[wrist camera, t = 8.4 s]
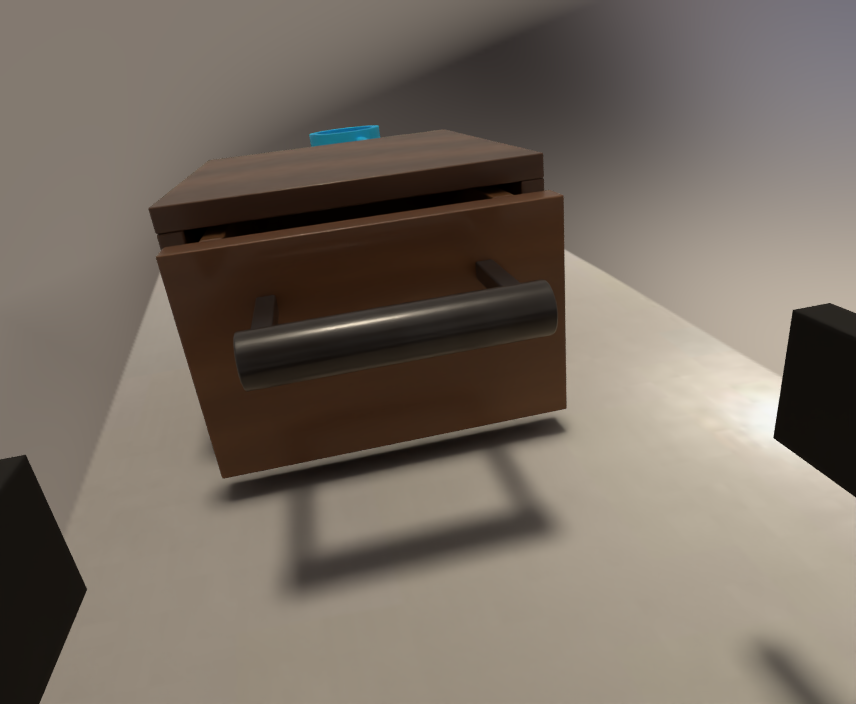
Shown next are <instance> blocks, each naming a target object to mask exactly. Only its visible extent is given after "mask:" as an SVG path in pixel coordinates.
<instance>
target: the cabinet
mask: <svg viewBox="0 0 856 704" xmlns="http://www.w3.org/2000/svg"><path fill="white" fill-rule="evenodd" d="M543 176H544V171H543V153H540V152H536V151H532V150H528V149H524V148H519V147H515V146H511V145H507V144H503V143H499V142H495V141H490V140H486V139H482V138H478V137H473V136H469V135H465V134H461V133H457V132H453V131H448V130H436V131H428V132H421V133H413V134H405V135H398V136H390V137H383V138H375V139H367V140H360V141H352V142H344V143H337V144H329V145H321V146H314V147H306V148H298V149H291V150H283V151H275V152H268V153H261V154H252V155H245V156H238V157H231V158H222V159H214V160H209V161H207V162H206V163H205V164H204V165H202V166H201V167H200V168H199V169H197V170H196V171H195V172H193V173H192V174H191V175H190V176H188V177H187V178H186V179H185V180H183V181H182V182H181V183H180V184H178V185H177V186H176V187H175V188H173V189H172V190H171V191H170V192H168V193H167V194H166V195H165V196H163V197H162V198H161V199H160V200H158V201H157V202H156V203H155V204H153V205H152V206H151V207H150V208H149V213H150V216H151V219H152V223H153V226H154V229H155V233H156V234H158V235H157V239H158V242H159V245H160V249H161V250H162V249H163V248H164V247H170V246H177V245H183V244H190V243H197V242H199V241H200V240H201V238H202V236H203V235H204V233H205V232H206V230H207V229H208V227H210V226H217V225H224V224H231V223H238V222H245V221H251V220H258V219H265V218H272V217H279V216H286V215H293V214H299V213H306V212H313V211H320V210H327V209H334V208H341V207H347V206H354V205H361V204H368V203H375V202H382V201H388V200H395V199H402V198H409V197H416V196H423V195H430V194H436V193H443V192H450V191H457V190H464V189H471V188H478V187H484V186H491V185H493V186H495V187H498V188H500V189H502V190H504V191H506V192H508V193H511V194H513V195H519V194H525V193H532V192H539V191H544V179H543Z"/></svg>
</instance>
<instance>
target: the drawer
mask: <svg viewBox="0 0 856 704" xmlns="http://www.w3.org/2000/svg"><path fill="white" fill-rule="evenodd" d="M563 200H564V198H563V195H561V194H558V193H556V192H553V191H550V190H545V191H539V192H532V193H525V194H519V195H513V194H511V193H508V192H506V191H504V190H502V189H500V188H498V187H495V186H493V185H491V186H484V187H478V188H471V189H464V190H457V191H450V192H443V193H436V194H430V195H423V196H416V197H409V198H402V199H395V200H388V201H382V202H375V203H368V204H361V205H354V206H347V207H341V208H334V209H327V210H320V211H313V212H306V213H299V214H293V215H286V216H279V217H272V218H265V219H258V220H251V221H245V222H238V223H231V224H224V225H217V226H210V227H208V229H207V230H206V232H205V233H204V235H203V236H202V238H201V240H200V241H199V242H197V243H190V244H183V245H177V246H170V247H164V248H163V249H162V250H161V252H160V253H159V254H158V255H157V256H156V260H157V263H158V266H159V270H160V273H161V276H162V280H163V283H164V286H165V290H166V293H167V296H168V300H169V303H170V306H171V310H172V313H173V316H174V320H175V323H176V326H177V330H178V333H179V336H180V339H181V343H182V346H183V349H184V353H185V356H186V359H187V363H188V366H189V369H190V373H191V376H192V379H193V383H194V386H195V389H196V393H197V396H198V399H199V403H200V406H201V409H202V413H203V416H204V419H205V422H206V426H207V429H208V432H209V436H210V439H211V442H212V446H213V449H214V452H215V456H216V459H217V462H218V466H219V469H220V472H221V476H222V478H229V477H234V476H239V475H244V474H248V473H253V472H258V471H263V470H268V469H273V468H278V467H283V466H288V465H293V464H297V463H302V462H307V461H312V460H317V459H322V458H327V457H332V456H337V455H342V454H346V453H351V452H356V451H361V450H366V449H371V448H376V447H381V446H386V445H391V444H395V443H400V442H405V441H410V440H415V439H420V438H425V437H430V436H435V435H440V434H444V433H449V432H454V431H459V430H464V429H469V428H474V427H479V426H484V425H488V424H493V423H498V422H503V421H508V420H513V419H518V418H523V417H528V416H533V415H537V414H542V413H547V412H552V411H557V410H562V409H566V338H565V268H564V202H563Z"/></svg>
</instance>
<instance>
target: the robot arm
mask: <svg viewBox="0 0 856 704" xmlns="http://www.w3.org/2000/svg"><path fill="white" fill-rule="evenodd" d="M773 438H774V439H776V440H777V441H778V442H780V443H781V444H783V445H784V446H785V447H787V448H788V449H789V450H791V451H792V452H794V453H795V454H796V455H798V456H799V457H801V458H802V459H803V460H805V461H806V462H807V463H809V464H810V465H812V466H813V467H814V468H816V469H817V470H819V471H820V472H821V473H823V474H824V475H826V476H827V477H828V478H830V479H831V480H832V481H834V482H835V483H837V484H838V485H839V486H841V487H842V488H844V489H845V490H846V491H848V492H849V493H850V494H852V495H853V496H855V497H856V313H853V312H851V311H849V310H846V309H843V308H841V307H839V306H836V305H834V304H831V303H828V304H823V305H817V306H812V307H807V308H801V309H796V310H793V313H792V319H791V326H790V333H789V339H788V346H787V352H786V359H785V366H784V373H783V378H782V385H781V391H780V398H779V405H778V411H777V418H776V424H775V431H774V437H773ZM86 591H87V588H86V586H85V584H84V582H83V579H82V577H81V575H80V573H79V571H78V568H77V566H76V564H75V562H74V560H73V557H72V555H71V553H70V551H69V549H68V546H67V544H66V542H65V540H64V538H63V535H62V533H61V531H60V529H59V527H58V525H57V522H56V520H55V518H54V516H53V513H52V511H51V509H50V507H49V505H48V503H47V500H46V498H45V496H44V494H43V492H42V489H41V487H40V485H39V483H38V481H37V478H36V476H35V474H34V472H33V470H32V467H31V465H30V464H29V461H28V459H27V457H26V455H22V456H17V457H12V458H6V459H1V460H0V704H39V703H40V701H41V698H42V696H43V694H44V691H45V689H46V686H47V684H48V682H49V679H50V677H51V674H52V672H53V670H54V667H55V665H56V662H57V660H58V658H59V655H60V653H61V650H62V648H63V646H64V643H65V641H66V639H67V636H68V634H69V631H70V629H71V627H72V624H73V622H74V619H75V617H76V615H77V612H78V610H79V607H80V605H81V603H82V600H83V598H84V595H85V593H86Z"/></svg>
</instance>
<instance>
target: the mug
mask: <svg viewBox="0 0 856 704" xmlns="http://www.w3.org/2000/svg"><path fill="white" fill-rule="evenodd" d="M309 136H310V142H311V147H314V146H321V145H329V144H337V143H344V142H352V141H360V140H367V139H375V138H380V133H379V126H360V127H349V128H341V129H333V130H327V131H321V132H316V133H312V134H310V135H309Z"/></svg>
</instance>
